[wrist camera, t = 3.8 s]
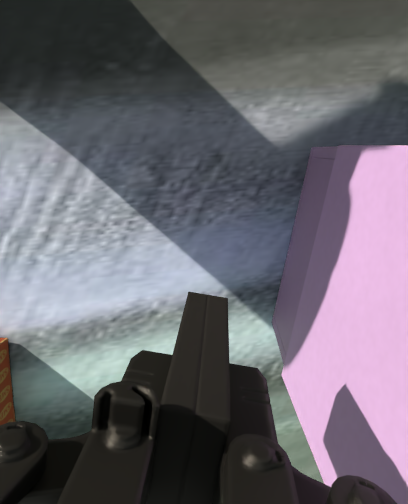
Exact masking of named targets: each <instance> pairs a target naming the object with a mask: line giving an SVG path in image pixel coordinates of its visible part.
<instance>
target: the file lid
mask: <svg viewBox="0 0 408 504" xmlns="http://www.w3.org/2000/svg"><path fill="white" fill-rule="evenodd" d="M282 378H283V380H284V383H285V385H286V388H287V390H288V393H289V395H290V398H291V400H292V403H293V405H294V408H295V410H296V413H297V416H298V418H299V421H300V423H301V426H302V428H303V431H304V433H305V436H306V438H307V441H308V443H309V446H310V448H311V451H312V453H313V456H314V459H315V461H316V464H317V466H318V469H319V471H320V474H321V476H322V479H323V481H324V484H325V485H327V486H330V487H331V485H332V484H333V482H334V481H335V480H336V479H337V478H338V477H342V476H345V475H352V476H359V477H362V478H364V479H367V480H369V481H371V482H374V483H375V484H376V485H378V486H379V487H380V488H382V489H383V490H385V491H386V492H387V493H388V494H389V495H390V496H391V497H392V498H393V500H394V501H395V502H396V503H397V504H408V145H338V148H337V152H336V156H335V160H334V164H333V168H332V172H331V176H330V180H329V185H328V189H327V193H326V197H325V201H324V205H323V209H322V213H321V217H320V221H319V225H318V229H317V233H316V237H315V241H314V245H313V249H312V254H311V258H310V262H309V266H308V270H307V274H306V278H305V282H304V286H303V290H302V294H301V298H300V302H299V306H298V310H297V314H296V318H295V322H294V327H293V331H292V335H291V339H290V343H289V347H288V351H287V355H286V359H285V363H284V367H283V371H282Z"/></svg>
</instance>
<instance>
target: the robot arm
mask: <svg viewBox="0 0 408 504" xmlns="http://www.w3.org/2000/svg"><path fill="white" fill-rule="evenodd" d="M0 504H397V503H396V502H395V501H394V500H393V498H392V497H391V496H390V495H389V494H388V493H387V492H386V491H385V490H383V489H382V488H380V487H379V486H378V485H376V484H375V483H374V482H371V481H369V480H367V479H364V478H362V477H359V476H352V475H345V476H342V477H338V478H337V479H336V480H335V481H334V482H333V484H332V485H331V487H330V486H327V485H325V484H323V483H321V482H319V481H316V480H314V479H312V478H310V477H308V476H306V475H304V474H302V473H300V472H299V471H298V470H297V469H295V468H294V467H293V466H291V462H290V460H289V458H288V456H287V453H286V452H285V451H284V450H283V449H282V448H281V446H280V445H279V444H278V441H277V436H276V430H275V425H274V420H273V414H272V409H271V404H270V398H269V394H268V387H267V382H266V379H265V378H264V376H263V375H262V374H261V372H260V371H259V370H258V368H253V367H247V366H241V365H235V364H229V336H228V298H223V297H217V296H211V295H205V294H199V293H193V292H188V296H187V300H186V304H185V308H184V312H183V316H182V320H181V324H180V328H179V332H178V336H177V340H176V344H175V348H174V352H173V355H168V354H162V353H156V352H150V351H144V350H142V351H141V352H139V353H138V354H137V355H135V356H134V357H133V358H131V360H130V363H129V365H128V367H127V369H126V372H125V374H124V376H123V378H122V381H121V382H116V383H111V384H109V385H107V386H105V387H103V388H101V389H100V390H99V392H98V393H97V394H96V395H95V397H94V408H93V419H92V430H91V431H90V432H88V433H85V434H83V435H80V436H76V437H71V438H63V439H53V440H48V437H47V435H46V433H45V431H44V429H43V428H41V427H40V426H38V425H37V424H35V423H30V422H25V421H19V422H8V423H5V424H2V425H0Z"/></svg>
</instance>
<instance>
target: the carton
mask: <svg viewBox="0 0 408 504" xmlns="http://www.w3.org/2000/svg"><path fill="white" fill-rule="evenodd" d="M12 392H13V390H12V384H11V374H10V361H9V346H8V338H0V425H2V424H5V423H8V422H16V420H15V411H14V406H13V395H12V394H13V393H12Z"/></svg>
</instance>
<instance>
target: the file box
mask: <svg viewBox="0 0 408 504" xmlns="http://www.w3.org/2000/svg"><path fill="white" fill-rule="evenodd" d="M337 148H338V146H334V147H312V148H311V152H310V156H309V161H308V165H307V170H306V174H305V178H304V183H303V187H302V191H301V196H300V200H299V205H298V209H297V213H296V218H295V222H294V227H293V231H292V235H291V240H290V244H289V249H288V253H287V257H286V262H285V266H284V271H283V275H282V279H281V284H280V288H279V293H278V297H277V301H276V306H275V310H274V314H273V319H272V325H273V328H274V331H275V335H276V338H277V342H278V346H279V349H280V353H281V356H282V360H283V363H285V359H286V355H287V351H288V347H289V343H290V339H291V335H292V331H293V327H294V322H295V318H296V314H297V310H298V306H299V302H300V298H301V294H302V290H303V286H304V282H305V278H306V274H307V270H308V266H309V262H310V258H311V254H312V249H313V245H314V241H315V237H316V233H317V229H318V225H319V221H320V217H321V213H322V209H323V205H324V201H325V197H326V193H327V189H328V185H329V180H330V176H331V172H332V168H333V164H334V160H335V156H336V152H337Z"/></svg>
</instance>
